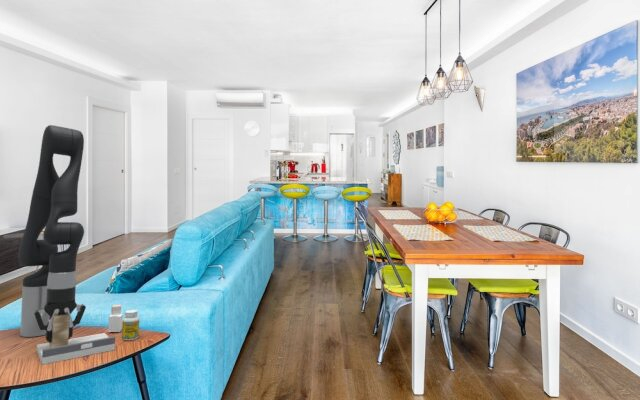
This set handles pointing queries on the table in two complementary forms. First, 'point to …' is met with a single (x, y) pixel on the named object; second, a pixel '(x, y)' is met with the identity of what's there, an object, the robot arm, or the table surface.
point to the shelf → (76, 348)
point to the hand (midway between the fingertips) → (59, 340)
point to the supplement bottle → (130, 325)
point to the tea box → (60, 330)
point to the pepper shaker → (115, 319)
